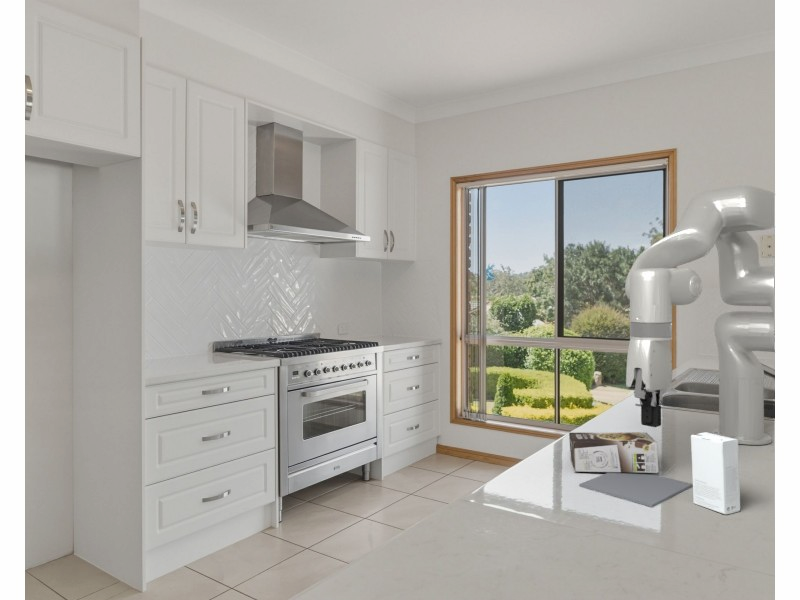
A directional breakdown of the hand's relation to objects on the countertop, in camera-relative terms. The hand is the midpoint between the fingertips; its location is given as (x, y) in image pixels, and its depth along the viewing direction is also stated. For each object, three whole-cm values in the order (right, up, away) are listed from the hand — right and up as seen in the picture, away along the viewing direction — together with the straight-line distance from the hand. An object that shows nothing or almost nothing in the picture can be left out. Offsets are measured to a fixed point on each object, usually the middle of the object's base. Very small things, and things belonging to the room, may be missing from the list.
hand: (651, 425), depth 110 cm
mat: (-5, -11, -4) cm, 12 cm away
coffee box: (+3, -7, +5) cm, 9 cm away
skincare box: (+4, -11, -15) cm, 19 cm away
